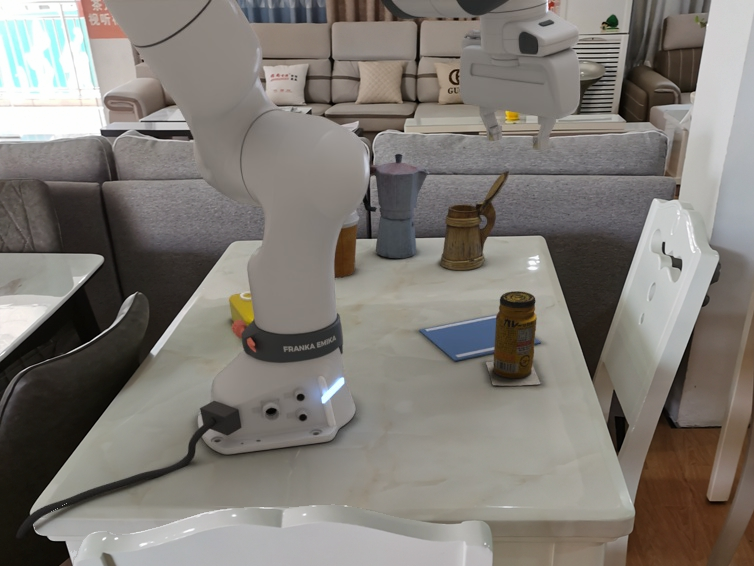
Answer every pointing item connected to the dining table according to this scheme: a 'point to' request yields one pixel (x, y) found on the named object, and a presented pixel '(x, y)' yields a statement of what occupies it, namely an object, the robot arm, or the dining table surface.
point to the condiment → (514, 341)
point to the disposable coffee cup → (346, 247)
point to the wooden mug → (469, 231)
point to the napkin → (465, 338)
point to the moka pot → (396, 206)
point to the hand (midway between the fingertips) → (517, 144)
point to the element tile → (241, 307)
